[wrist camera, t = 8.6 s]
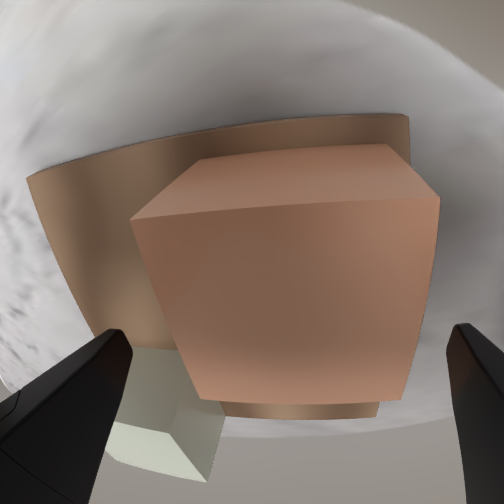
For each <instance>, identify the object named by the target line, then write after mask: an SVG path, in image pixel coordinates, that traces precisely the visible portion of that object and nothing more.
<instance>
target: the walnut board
mask: <svg viewBox="0 0 504 504" xmlns="http://www.w3.org/2000/svg"><path fill="white" fill-rule="evenodd" d="M358 144H387V145H388V146H389V147H391V148H392V149H393V150H394V151H395V152H396V153H397V154H398V155H399V156H400V157H401V158H402V159H403V160H404V161H405V162H406V163H407V164H408V165H409V166H410V133H409V117H408V116H405V115H403V114H352V115H331V116H315V117H302V118H290V119H280V120H271V121H262V122H254V123H246V124H239V125H232V126H225V127H218V128H212V129H206V130H200V131H195V132H189V133H184V134H178V135H173V136H168V137H164V138H159V139H154V140H150V141H145V142H141V143H136V144H132V145H128V146H124V147H120V148H116V149H112V150H108V151H104V152H101V153H97V154H93V155H90V156H86V157H83V158H79V159H76V160H73V161H69V162H66V163H63V164H60V165H56V166H53V167H50V168H47V169H44V170H41V171H38V172H36V173H34V174H32V175H31V176H29V177H27V178H26V180H27V183H28V186H29V189H30V192H31V195H32V198H33V201H34V204H35V207H36V210H37V212H38V215H39V218H40V221H41V223H42V226H43V228H44V231H45V234H46V236H47V239H48V241H49V244H50V246H51V248H52V251H53V253H54V255H55V258H56V260H57V262H58V265H59V267H60V269H61V271H62V273H63V276H64V278H65V280H66V282H67V284H68V286H69V288H70V290H71V292H72V295H73V297H74V299H75V301H76V303H77V305H78V306H79V308H80V310H81V312H82V314H83V316H84V318H85V320H86V322H87V324H88V325H89V327H90V329H91V331H92V333H93V334H94V336H95V338H96V337H97V336H99V335H100V334H102V333H103V332H104V331H106V330H108V329H111V328H113V329H121V330H122V331H123V332H124V333H125V335H126V337H127V339H128V341H129V343H130V345H131V346H134V347H143V348H154V349H165V350H178V348H177V346H176V344H175V341H174V339H173V337H172V334H171V332H170V329H169V327H168V325H167V322H166V320H165V317H164V315H163V312H162V310H161V307H160V304H159V302H158V299H157V297H156V294H155V291H154V289H153V286H152V283H151V281H150V278H149V275H148V273H147V270H146V267H145V264H144V261H143V258H142V256H141V253H140V250H139V247H138V244H137V241H136V238H135V235H134V232H133V229H132V226H131V223H130V219H131V218H132V217H133V216H134V215H135V214H136V213H138V212H139V211H140V210H141V209H142V208H143V207H144V206H145V205H146V204H148V203H149V202H150V201H151V200H152V199H153V198H154V197H156V196H157V195H158V194H159V193H160V192H161V191H162V190H164V189H165V188H166V187H167V186H168V185H169V184H171V183H172V182H173V181H174V180H175V179H177V178H178V177H179V176H180V175H181V174H183V173H184V172H185V171H186V170H187V169H189V168H190V167H191V166H192V165H194V164H195V163H196V162H197V161H198V160H200V159H207V158H214V157H221V156H229V155H237V154H245V153H254V152H263V151H272V150H283V149H294V148H306V147H320V146H337V145H358ZM379 403H380V401H379V402H366V403H347V404H260V403H241V402H227V401H220V404H221V406H222V409H223V411H224V413H225V416H232V417H244V418H260V419H286V420H330V419H356V418H371V417H376V414H377V410H378V407H379Z"/></svg>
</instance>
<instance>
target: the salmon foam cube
mask: <svg viewBox="0 0 504 504" xmlns="http://www.w3.org/2000/svg"><path fill="white" fill-rule="evenodd" d="M439 211H440V197H439V196H438V195H437V194H436V192H435V191H434V190H433V189H432V188H431V187H430V186H429V185H428V184H427V183H426V182H425V181H424V180H423V179H422V178H421V177H420V176H419V175H418V174H417V173H416V172H415V171H414V170H413V169H412V168H411V167H410V166H409V165H408V164H407V163H406V162H405V161H404V160H403V159H402V158H401V157H400V156H399V155H398V154H397V153H396V152H395V151H394V150H393V149H392V148H391V147H389V146H388V145H387V144H358V145H337V146H320V147H306V148H294V149H283V150H272V151H263V152H254V153H245V154H237V155H229V156H221V157H214V158H207V159H200V160H198V161H197V162H196V163H195V164H194V165H192V166H191V167H190V168H189V169H187V170H186V171H185V172H184V173H183V174H181V175H180V176H179V177H178V178H177V179H175V180H174V181H173V182H172V183H171V184H169V185H168V186H167V187H166V188H165V189H164V190H162V191H161V192H160V193H159V194H158V195H157V196H156V197H154V198H153V199H152V200H151V201H150V202H149V203H148V204H146V205H145V206H144V207H143V208H142V209H141V210H140V211H139V212H138V213H136V214H135V215H134V216H133V217H132V218H131V219H130V223H131V226H132V229H133V232H134V235H135V238H136V241H137V244H138V247H139V250H140V253H141V256H142V258H143V261H144V264H145V267H146V270H147V273H148V275H149V278H150V281H151V283H152V286H153V289H154V291H155V294H156V297H157V299H158V302H159V304H160V307H161V310H162V312H163V315H164V317H165V320H166V322H167V325H168V327H169V329H170V332H171V334H172V337H173V339H174V341H175V344H176V346H177V348H178V351H179V353H180V355H181V358H182V360H183V362H184V364H185V367H186V369H187V371H188V373H189V376H190V378H191V380H192V382H193V384H194V386H195V389H196V391H197V393H198V395H199V397H200V399H205V400H215V401H227V402H241V403H260V404H347V403H366V402H379V401H391V400H401V398H402V395H403V391H404V388H405V385H406V382H407V379H408V375H409V372H410V368H411V365H412V361H413V358H414V354H415V350H416V346H417V342H418V338H419V334H420V330H421V326H422V321H423V317H424V312H425V307H426V302H427V297H428V292H429V286H430V281H431V275H432V269H433V262H434V255H435V248H436V240H437V231H438V222H439Z"/></svg>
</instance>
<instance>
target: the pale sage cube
mask: <svg viewBox="0 0 504 504" xmlns="http://www.w3.org/2000/svg"><path fill="white" fill-rule="evenodd" d="M131 347H132V350H133V358H132V362H131V365H130V369H129V373H128V377H127V381H126V385H125V389H124V393H123V397H122V400H121V403H120V406H119V409H118V412H117V415H116V418H115V421H114V423H113V426H112V429H111V432H110V435H109V438H108V441H107V444H106V447H105V450H106V451H107V452H108V453H109V454H110V455H111V456H112V457H113V458H114V459H115V460H117V461H120V462H123V463H126V464H129V465H133V466H136V467H140V468H144V469H148V470H151V471H155V472H159V473H163V474H168V475H172V476H176V477H182V478H186V479H191V480H197V481H202V482H208V479H209V475H210V472H211V468H212V464H213V461H214V457H215V453H216V450H217V446H218V442H219V439H220V435H221V431H222V428H223V424H224V420H225V417H226V416H225V413H224V411H223V409H222V406H221V404H220V401H215V400H205V399H200V397H199V395H198V393H197V391H196V389H195V386H194V384H193V382H192V380H191V378H190V376H189V373H188V371H187V369H186V367H185V364H184V362H183V360H182V358H181V355H180V353H179V351H178V350H165V349H154V348H143V347H134V346H131Z"/></svg>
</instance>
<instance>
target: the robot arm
mask: <svg viewBox="0 0 504 504" xmlns="http://www.w3.org/2000/svg"><path fill="white" fill-rule="evenodd" d="M446 356H447V363H448V370H449V378H450V386H451V396H452V404H453V410H454V416H455V421H456V426H457V431H458V437H459V444H460V450H461V457H462V464H463V471H464V480H465V491H466V503H467V504H504V353H503V352H502V351H501V350H500V349H499V348H498V347H497V346H495V345H494V344H493V343H492V342H491V341H490V340H489V339H487V338H486V337H485V336H484V335H483V334H482V333H481V332H479V331H478V330H477V329H476V328H475V327H473V326H472V325H471V324H469V323H462V324H456V325H455V326H454V327H453V329H452V333H451V336H450V339H449V342H448V345H447V349H446ZM132 358H133V350H132V347H131V345H130V343H129V341H128V339H127V337H126V335H125V333H124V332H123V331H122V330H121V329H113V328H111V329H108V330H106V331H104V332H103V333H102V334H100V335H99V336H97V337H96V338H94V339H93V340H91V341H90V342H88V343H87V344H85V345H84V346H82V347H81V348H79V349H78V350H76V351H75V352H74V353H72V354H71V355H69V356H68V357H66V358H65V359H63V360H62V361H60V362H59V363H57V364H56V365H55V366H53V367H52V368H50V369H49V370H47V371H46V372H44V373H43V374H42V375H40V376H39V377H37V378H36V379H34V380H33V381H31V382H30V383H29V384H27V385H26V386H24V387H23V388H22V389H21V390H18V391H17V392H16V393H14V394H13V395H11V396H10V397H8V398H7V399H5V400H4V401H2V402H1V403H0V504H88V503H89V500H90V496H91V493H92V489H93V486H94V483H95V479H96V476H97V472H98V469H99V466H100V463H101V459H102V457H103V454H104V450H105V447H106V444H107V441H108V438H109V435H110V432H111V429H112V426H113V423H114V421H115V418H116V415H117V412H118V409H119V406H120V403H121V400H122V397H123V393H124V389H125V385H126V381H127V377H128V373H129V369H130V365H131V362H132Z"/></svg>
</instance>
